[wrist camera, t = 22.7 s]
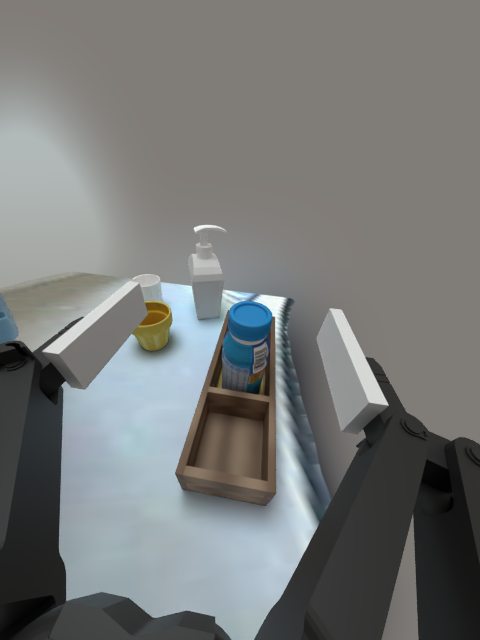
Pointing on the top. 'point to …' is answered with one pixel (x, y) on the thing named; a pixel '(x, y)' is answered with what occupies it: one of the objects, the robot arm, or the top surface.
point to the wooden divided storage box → (232, 437)
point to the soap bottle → (206, 276)
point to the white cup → (150, 287)
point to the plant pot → (154, 326)
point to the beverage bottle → (246, 347)
